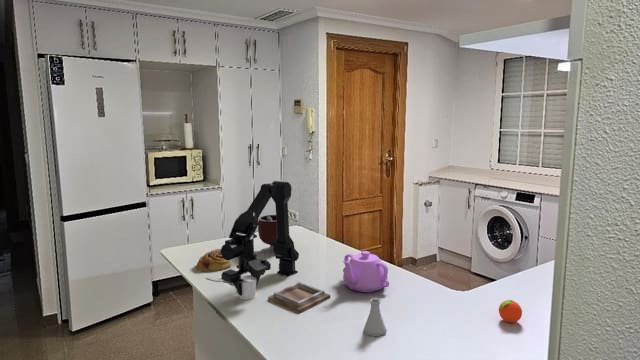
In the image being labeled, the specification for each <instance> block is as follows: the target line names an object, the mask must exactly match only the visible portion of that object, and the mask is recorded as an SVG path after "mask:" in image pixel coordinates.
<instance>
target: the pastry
mask: <svg viewBox="0 0 640 360" xmlns="http://www.w3.org/2000/svg"><path fill="white" fill-rule="evenodd" d="M231 266H232V262H231V260H225V259H224V258H223V257H222V255H221V248H215V249H212V250H210V251H208V252H206V253H205V254H203V255H202V256H201V257H199V260H198V262H197V263H196V266H195V267H196V270H197V271H201V272H205V273H206V272H222V271H227V270H229V269H231Z"/></svg>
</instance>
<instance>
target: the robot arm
mask: <svg viewBox="0 0 640 360" xmlns="http://www.w3.org/2000/svg"><path fill="white" fill-rule="evenodd" d="M292 189H293V188H292V185H291V183H290V182H289V181H280V180H279V181H278V180H274V181H273V182H271V183H262V185H260V189H259V191H258V192H257V194H256V196H255V197H254V199H253V201H251V203H250V205H249V207H248V208H247V210H246V211H244V212H242V213H241V214H239V215H238V217H237V218H235V221H234V223H233V225H232V228H231V231H230V233H229V235H228V238H229V239H226V240H224V244H223V245H222V246H221V248H220V249H221V255H222V257H223V258H224V259H225V260H230V261H231V260H235V259H236V258H237V259H238V264H237V265H236V269H238V270H233V269H232V268H229V269H226V270H223V272H222V273H221V275H220V276H221V278H222V280H224V281H227V282H226V283H229V284H232V283H233V284H232V285H233V286H234V287H235V290H236V292H237V293H238V295H239V297H240V296H242V282H243V279H241V277H242V276H244V275H245V274H248V273H249V274H250V275H251V276H253V277H255V278H257V279H256V289H257V287H258V284H259V282H260V278H261V276H264V275H265V273H266V271H269V270H271V269H272V267H271V263H270V261H268V259H263V258H259V259H258V256H257V254H256V253H255V245H254V241H255V239H256V238H258V234H256V233H255V232H256V231H257V229H258V224H259V223H258V222H259V217H261V214H262V213H263V211H264V209H265V207H266V206H267V205H268V202H269V201H270V199H271V198H272V200H273V202H274V203H275V215H276V221H277V239H276V241H275V242H273V251H274V254H275V256H274V257H275V259H276V260H278V270H277V272H276V273H277V274H278V275H279V274H280V275H282V276H284V277H290V276H291V275H294V274H295V275H296V274H297V273H298V272H299V271H298V270H296V262H297V261H298V260H299V257H300V254H299V252H298V251H297V249H296V248H295V242H294V241H293V239H292V238H291V236H290V222H289V221H290V220H289V219H290V218H289V206H288V205H289V200H290V199H291V197H292Z"/></svg>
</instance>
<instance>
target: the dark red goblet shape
mask: <svg viewBox="0 0 640 360" xmlns="http://www.w3.org/2000/svg"><path fill="white" fill-rule="evenodd" d="M258 223H259V224H258V226H257V234H258V237H259V239H260V240H261V242H262V243H263V244H266V245H269V246H268V247H264V248H262V249H261V250H260V254H261V255H262V256H265V257H266V256H267V257H275V254H274V251H273V242H275V241H276V239H277V221H276V214H265V215H262V216H261V215H260V216H259V218H258Z"/></svg>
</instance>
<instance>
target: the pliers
mask: <svg viewBox="0 0 640 360" xmlns="http://www.w3.org/2000/svg"><path fill="white" fill-rule="evenodd" d="M206 280H209V281H213V282H217V283H218V282H220V283H221V282H223V283H224V282H226V283H228V282H227V281H224V280H222V278H212V277H208V276H206ZM231 285H234V284H233V283H231Z"/></svg>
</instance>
